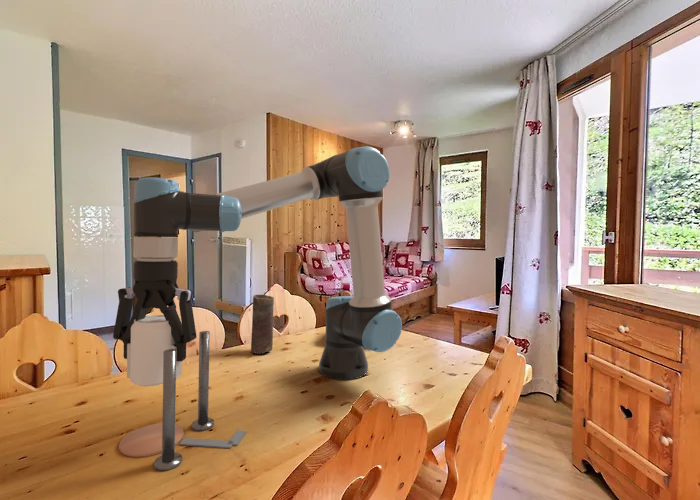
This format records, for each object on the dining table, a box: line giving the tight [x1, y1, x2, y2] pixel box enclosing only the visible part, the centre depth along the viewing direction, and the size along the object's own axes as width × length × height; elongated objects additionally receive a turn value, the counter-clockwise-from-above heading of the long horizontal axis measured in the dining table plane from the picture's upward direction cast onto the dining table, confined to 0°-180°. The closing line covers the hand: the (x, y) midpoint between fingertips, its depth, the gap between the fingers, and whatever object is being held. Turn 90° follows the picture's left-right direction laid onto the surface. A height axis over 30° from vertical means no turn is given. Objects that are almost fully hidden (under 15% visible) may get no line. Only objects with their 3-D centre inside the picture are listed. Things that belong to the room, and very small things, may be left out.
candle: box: [250, 294, 275, 355], centre depth 127 cm, size 8×7×20 cm
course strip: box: [178, 429, 247, 449], centre depth 72 cm, size 11×6×1 cm, turn 86°
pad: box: [118, 422, 184, 458], centre depth 71 cm, size 11×11×1 cm
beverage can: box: [129, 314, 175, 387], centre depth 70 cm, size 8×8×12 cm
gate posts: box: [153, 330, 215, 472], centre depth 70 cm, size 4×17×20 cm, turn 176°
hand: (154, 376), depth 70 cm, fingers closed on beverage can, 8 cm apart
